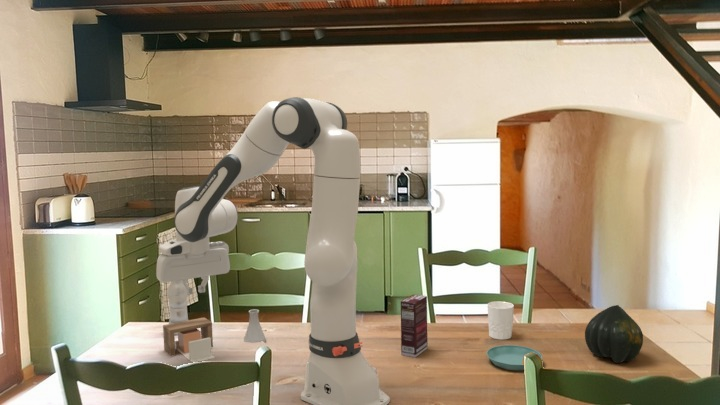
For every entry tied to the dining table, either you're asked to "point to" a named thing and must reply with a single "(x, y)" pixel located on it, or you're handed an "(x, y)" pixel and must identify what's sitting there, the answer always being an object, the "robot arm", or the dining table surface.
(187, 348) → the block
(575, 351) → the dining table surface
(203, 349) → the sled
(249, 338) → the flask
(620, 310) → the squash
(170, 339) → the tunnel
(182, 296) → the plastic bottle
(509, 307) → the white cup
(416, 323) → the supplement box
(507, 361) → the saucer
